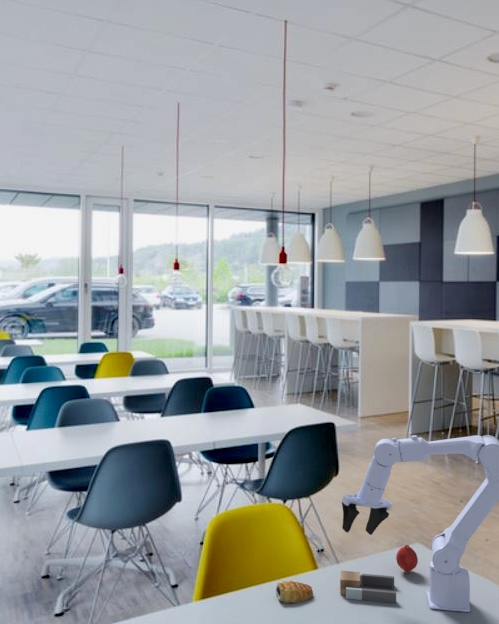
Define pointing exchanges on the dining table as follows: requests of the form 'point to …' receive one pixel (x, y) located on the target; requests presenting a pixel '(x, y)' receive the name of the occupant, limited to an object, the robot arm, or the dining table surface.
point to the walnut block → (349, 580)
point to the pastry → (293, 591)
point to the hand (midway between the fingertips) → (357, 531)
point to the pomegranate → (407, 558)
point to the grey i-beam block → (373, 589)
